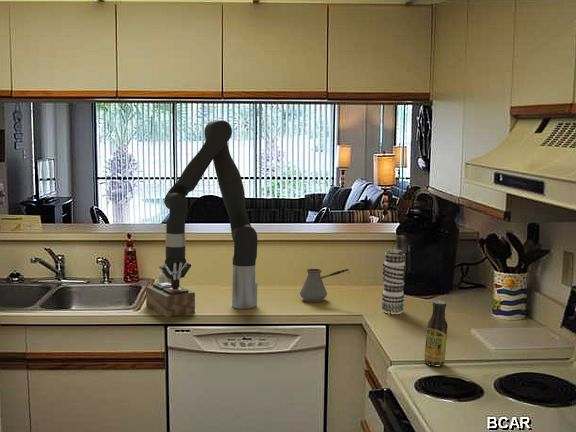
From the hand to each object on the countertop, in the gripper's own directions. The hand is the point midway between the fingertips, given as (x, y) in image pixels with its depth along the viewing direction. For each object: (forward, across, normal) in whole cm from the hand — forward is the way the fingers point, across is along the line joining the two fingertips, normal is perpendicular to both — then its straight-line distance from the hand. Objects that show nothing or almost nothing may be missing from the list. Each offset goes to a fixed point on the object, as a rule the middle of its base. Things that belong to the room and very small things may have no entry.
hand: (175, 288), depth 257 cm
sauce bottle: (+9, +41, -94) cm, 103 cm away
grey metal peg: (+8, 0, +9) cm, 12 cm away
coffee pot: (+9, +60, -18) cm, 63 cm away
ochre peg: (+8, 0, 0) cm, 8 cm away
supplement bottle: (+10, +8, +24) cm, 27 cm away
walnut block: (+9, 0, +4) cm, 10 cm away
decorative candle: (+9, +73, -44) cm, 86 cm away
